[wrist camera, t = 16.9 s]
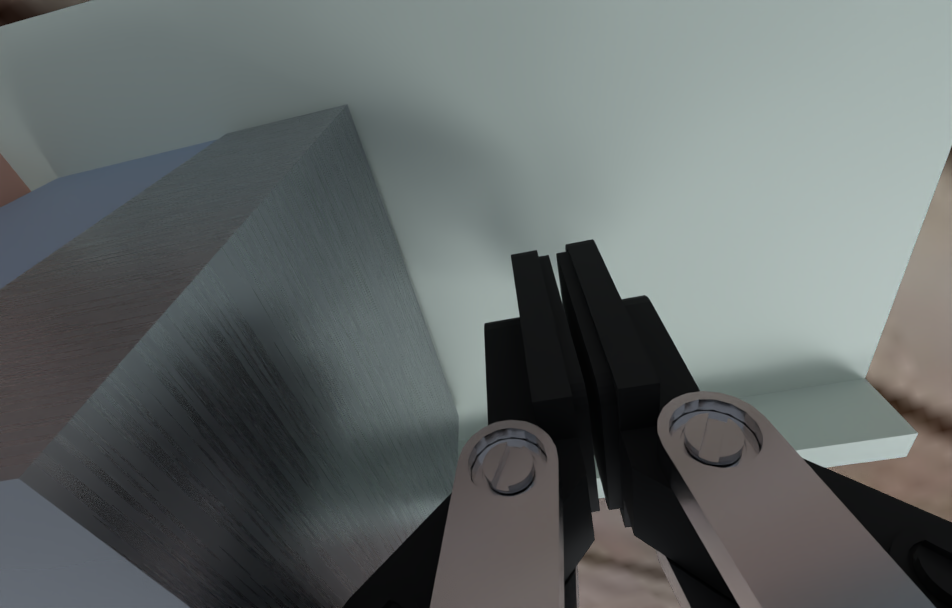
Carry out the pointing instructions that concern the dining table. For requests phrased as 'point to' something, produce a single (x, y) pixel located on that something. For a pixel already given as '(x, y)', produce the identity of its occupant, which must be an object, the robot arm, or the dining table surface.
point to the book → (75, 207)
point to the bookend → (221, 389)
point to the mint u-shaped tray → (565, 159)
